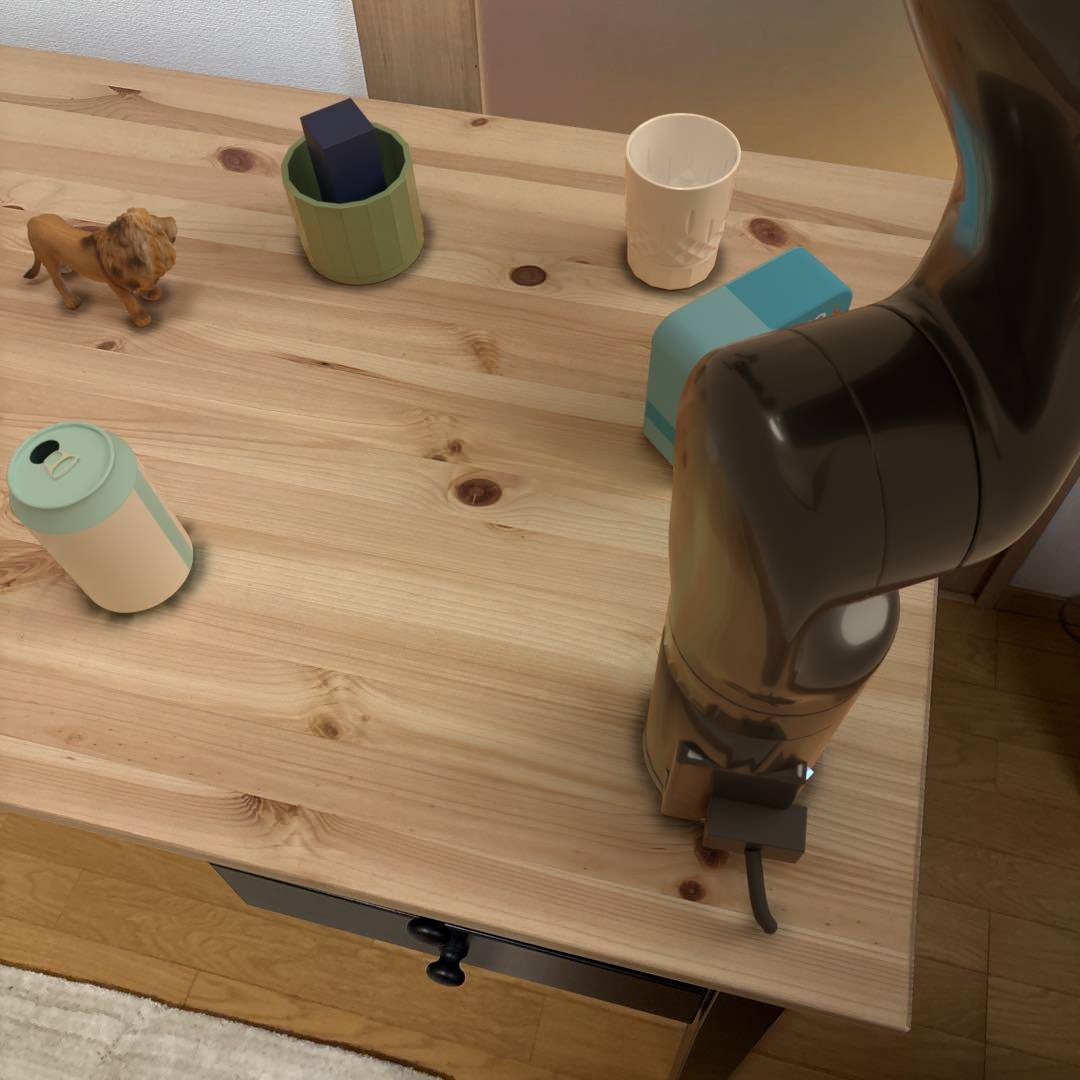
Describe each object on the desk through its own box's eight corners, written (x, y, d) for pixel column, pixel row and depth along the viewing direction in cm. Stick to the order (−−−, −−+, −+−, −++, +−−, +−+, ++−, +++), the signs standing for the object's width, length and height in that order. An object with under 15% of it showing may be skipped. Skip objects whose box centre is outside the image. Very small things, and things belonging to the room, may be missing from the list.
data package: (680, 487, 66) (699, 370, 56) (639, 442, 68) (651, 320, 58) (818, 405, 70) (860, 280, 59) (775, 364, 72) (809, 236, 61)
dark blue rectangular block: (350, 258, 77) (322, 148, 68) (329, 227, 79) (299, 116, 70) (397, 238, 78) (375, 128, 69) (374, 208, 80) (350, 97, 71)
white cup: (622, 220, 79) (628, 110, 71) (722, 224, 79) (740, 114, 70) (616, 294, 75) (622, 186, 67) (722, 299, 75) (741, 191, 66)
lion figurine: (215, 286, 77) (175, 192, 69) (188, 337, 75) (143, 245, 67) (42, 259, 79) (-15, 165, 71) (10, 308, 77) (-54, 216, 69)
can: (74, 617, 63) (-24, 517, 53) (100, 522, 66) (13, 410, 56) (185, 617, 63) (109, 516, 52) (205, 521, 66) (137, 409, 56)
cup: (406, 291, 76) (391, 214, 70) (289, 277, 77) (263, 199, 71) (436, 207, 81) (424, 127, 74) (325, 194, 82) (304, 114, 75)
